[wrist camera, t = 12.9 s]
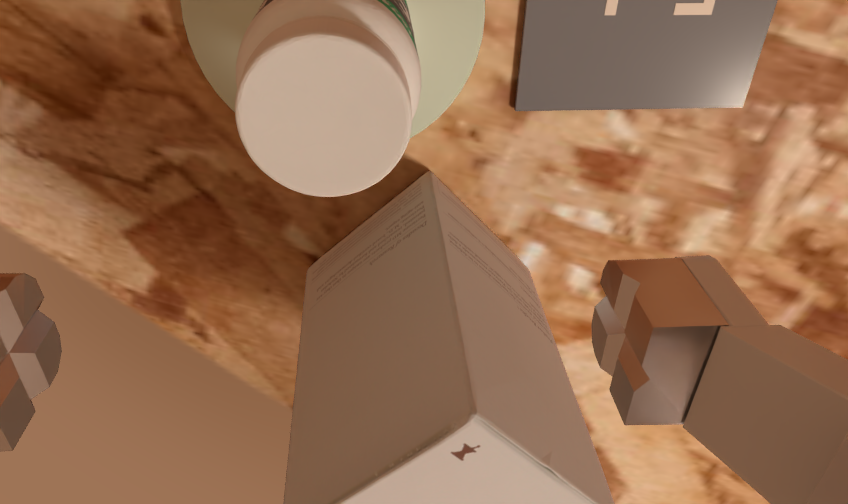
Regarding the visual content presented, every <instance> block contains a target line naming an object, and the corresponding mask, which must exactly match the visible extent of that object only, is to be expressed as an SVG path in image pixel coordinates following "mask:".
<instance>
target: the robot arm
mask: <svg viewBox="0 0 848 504" xmlns="http://www.w3.org/2000/svg"><path fill="white" fill-rule="evenodd" d="M600 284H601V286H602V288H603V290H604V292H605V294H606V297H604V298H603V299H602V300H601V301H600V302H599V303H598V304H597V305H596V306H595V309H594V314H593V320H592V343H593V348H594V352H595V356H596V358H597V361H598V363H599V366H600V368H602V369H603V370H604V371H606V372H607V373H609V374H610V375H611V376H613V378H612V382H611V386H610V392H611V395H612V397H613V399H614V402H615V404H616V406H617V409H618V411H619V413H620V416H621V418H622V420H623V423H624V425H668V424H684V425H683V428H685V429H686V430H687V431H688V432H689V433H690V434H691V435H693V436H694V437H695V438H696V439H697V440H698V441H700V442H701V443H702V444H703V445H704V446H705V447H706V448H708V449H709V450H710V451H711V452H712V453H713V454H714V455H716V456H717V457H718V458H719V459H720V460H721V461H723V462H724V463H725V464H726V465H727V466H728V467H729V468H731V469H732V470H733V471H734V472H735V473H736V474H737V475H739V476H740V477H741V478H742V479H743V480H744V481H746V482H747V483H748V484H749V485H750V486H751V487H752V488H754V489H755V490H756V491H757V492H758V493H759V494H760V495H762V496H763V497H764V498H765V499H766V500H767V501H769V502H770V503H771V504H848V360H847V359H845V358H843V357H841V356H839V355H837V354H835V353H833V352H832V351H830V350H828V349H826V348H824V347H822V346H820V345H818V344H816V343H814V342H812V341H810V340H808V339H806V338H804V337H802V336H800V335H799V334H797V333H795V332H793V331H791V330H789V329H787V328H785V327H783V326H781V325H769V324H768V323H767V322H766V321H765V319H764V318H763V317H762V316H761V314H760V313H759V312H758V311H757V309H756V308H755V307H754V306H753V304H752V303H751V302H750V301H749V299H748V298H747V297H746V296H745V294H744V293H743V292H742V291H741V289H740V288H739V287H738V286H737V284H736V283H735V282H734V281H733V279H732V278H731V277H730V276H729V274H728V273H727V272H726V271H725V269H724V268H723V267H722V266H721V264H720V263H719V262H718V261H717V260H716V259H715V258H713V257H711V256H709V255H707V256H688V257H675V258H663V259H635V260H608V262H607V264H606V265H605V267H604V269H603V273H602V277H601V282H600ZM43 299H44V296H43V294H42V291H41V289H40V287H39V285H38V283H37V281H36V279H35V278H33V277H31V276H29V275H27V274H25V273H0V451H12V450H13V449H14V447H15V446H16V444H17V442H18V441H19V438H20V437H21V435H22V434H23V432H24V430H25V429H26V427H27V425H28V423H29V422H30V420H31V418H32V416H33V414H34V413H35V409H34V407H33V404H32V401H31V399H32V398H34V397H35V396H37V395H38V394H40V393H41V392H43V391H44V390H45V389H47V388H48V387H50V385H51V383H52V381H53V379H54V377H55V376H56V374H57V372H58V368H59V363H60V357H61V352H62V351H61V343H60V335H59V333H58V330H57V328H56V325H55V323H54V322H53V321H52V320H51V319H49V318H48V317H47V316H45V315H44V314H43V313H41V312H40V311H39V310H38V309H39V307H40V305H41V303H42V301H43Z"/></svg>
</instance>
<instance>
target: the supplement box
mask: <svg viewBox="0 0 848 504" xmlns="http://www.w3.org/2000/svg"><path fill="white" fill-rule="evenodd" d="M284 504H614V501H613V498H612V496H611V493H610V490H609V487H608V484H607V481H606V478H605V476H604V473H603V470H602V467H601V464H600V462H599V459H598V456H597V453H596V451H595V448H594V445H593V443H592V440H591V437H590V435H589V432H588V429H587V427H586V424H585V421H584V418H583V416H582V413H581V410H580V408H579V405H578V402H577V400H576V397H575V394H574V392H573V389H572V386H571V384H570V381H569V378H568V376H567V373H566V370H565V368H564V365H563V362H562V360H561V357H560V354H559V351H558V349H557V346H556V343H555V341H554V338H553V335H552V332H551V330H550V327H549V324H548V322H547V319H546V316H545V314H544V311H543V308H542V305H541V302H540V299H539V297H538V294H537V291H536V288H535V285H534V283H533V280H532V277H531V274H530V271H529V269H528V268H527V267H526V266H525V265H524V264H523V263H522V262H521V261H520V260H519V259H518V258H517V257H516V256H515V254H514V253H513V252H512V251H511V250H510V249H509V248H508V247H507V246H506V245H505V244H504V243H503V242H502V241H501V240H500V239H499V238H498V237H497V236H496V235H495V234H494V233H493V232H492V231H490V230H489V229H488V228H487V227H486V226H485V225H484V224H483V223H482V222H481V221H480V220H479V219H478V218H477V217H476V216H475V215H474V214H473V213H472V212H471V211H470V210H469V209H468V208H467V207H466V206H465V205H464V204H463V203H462V202H461V201H460V200H459V199H458V198H457V197H456V196H455V195H454V194H453V193H452V192H451V191H450V190H449V189H448V188H447V187H446V186H445V185H444V184H443V183H442V182H441V181H440V180H439V179H438V178H437V177H436V176H435V175H434V174H433V173H432V172H431V171H428V172H426V173H425V174H424V175H422V176H421V177H420V178H418V179H417V180H416V181H415V182H414V183H412V184H411V185H410V186H408V187H407V188H406V189H405V190H403V191H402V192H401V193H400V194H398V195H397V196H396V197H395V198H394V199H392V200H391V201H390V202H389V203H387V204H386V205H385V206H383V207H382V208H381V209H380V210H378V211H377V212H376V213H375V214H374V215H372V216H371V217H370V218H369V219H367V220H366V221H365V222H364V223H362V224H361V225H360V226H359V227H357V228H356V229H355V230H354V231H352V232H351V233H350V234H349V235H348V236H346V237H345V238H344V239H343V240H341V241H340V242H339V243H338V244H336V245H335V246H334V247H333V248H332V249H330V250H329V251H328V252H327V253H325V254H324V255H323V256H322V257H320V258H319V259H318V260H317V261H316V262H315V263H314V264H312V265H311V266H310V267H309V268H308V270H307V274H306V285H305V296H304V303H303V314H302V324H301V335H300V345H299V354H298V364H297V375H296V384H295V394H294V403H293V413H292V424H291V434H290V444H289V455H288V466H287V473H286V483H285V494H284Z"/></svg>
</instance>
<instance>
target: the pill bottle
mask: <svg viewBox="0 0 848 504" xmlns="http://www.w3.org/2000/svg"><path fill="white" fill-rule="evenodd" d="M236 85H237V93H236V98H235V119H236V125H237V129H238V133H239V136H240V139H241V141H242V143H243V145H244V147H245V149H246V151H247V153H248V154H249V156H250V157H251V159H252V160H253V161H254V162H255V164H256V165H257V166H258V167H259V168H260V169H261V170H262V171H263V172H264V173H265V174H267V175H268V176H269V177H270V178H272V179H273V180H274V181H276V182H278V183H279V184H281V185H283V186H285V187H287V188H289V189H291V190H293V191H296V192H299V193H303V194H306V195H312V196H319V197H336V196H343V195H349V194H353V193H356V192H359V191H362V190H364V189H366V188H368V187H370V186H372V185H374V184H376V183H377V182H379V181H380V180H382V179H383V178H384V177H385V176H386V175H387V174H389V173H390V172H391V170H392V169H393V168H394V167H395V166H396V164H397V163H398V162H399V160H400V159H401V157H402V155H403V153H404V151H405V149H406V147H407V144H408V142H409V138H410V134H411V127H412V120H413V118H414V115H415V113H416V110H417V107H418V103H419V99H420V93H421V67H420V61H419V57H418V53H417V48H416V43H415V38H414V31H413V28H412V23H411V19H410V14H409V9H408V6H407V2H406V0H264V1H263V3H262V5H261V6H260V8H259V10H258V12H257V13H256V15H255V17H254V18H253V20H252V21H251V23H250V25H249V26H248V28H247V30H246V32H245V34H244V37H243V39H242V42H241V45H240V48H239V52H238V56H237V62H236Z"/></svg>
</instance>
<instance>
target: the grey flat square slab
mask: <svg viewBox="0 0 848 504" xmlns="http://www.w3.org/2000/svg"><path fill="white" fill-rule="evenodd" d="M776 3H777V0H526V4H525V13H524V23H523V32H522V42H521V51H520V61H519V70H518V80H517V89H516V99H515V108H514V109H515V111H552V110H612V109H672V108H732V107H743V105H744V102H745V99H746V96H747V93H748V89H749V86H750V83H751V80H752V77H753V74H754V71H755V68H756V65H757V62H758V59H759V56H760V53H761V49H762V46H763V43H764V40H765V37H766V34H767V31H768V28H769V25H770V22H771V19H772V16H773V13H774V10H775V6H776Z"/></svg>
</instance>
